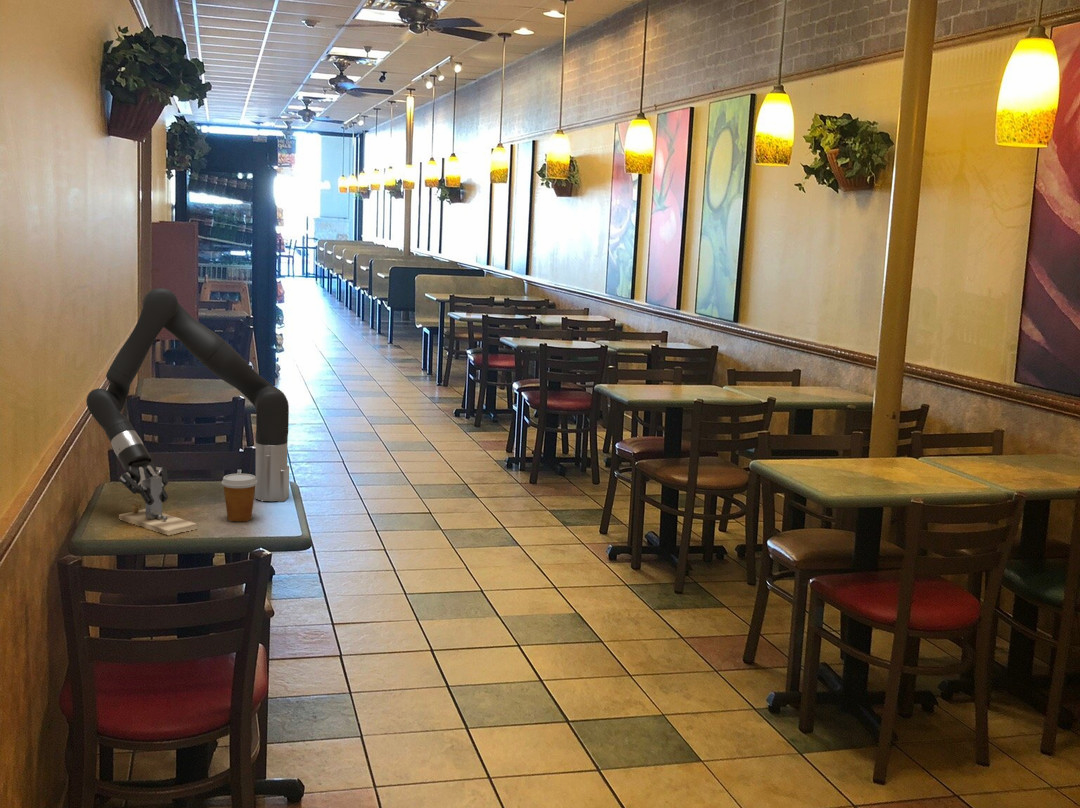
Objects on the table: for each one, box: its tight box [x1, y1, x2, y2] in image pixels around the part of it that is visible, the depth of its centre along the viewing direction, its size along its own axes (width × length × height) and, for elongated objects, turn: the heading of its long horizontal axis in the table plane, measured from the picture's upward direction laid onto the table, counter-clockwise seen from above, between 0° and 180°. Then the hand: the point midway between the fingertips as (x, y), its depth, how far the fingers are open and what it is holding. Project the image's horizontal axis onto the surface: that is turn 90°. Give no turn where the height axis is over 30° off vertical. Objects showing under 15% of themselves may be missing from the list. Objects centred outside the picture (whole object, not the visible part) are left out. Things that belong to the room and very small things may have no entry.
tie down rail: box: [118, 502, 199, 535], centre depth 287 cm, size 22×9×4 cm, turn 55°
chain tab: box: [144, 476, 167, 521], centre depth 286 cm, size 9×4×11 cm, turn 55°
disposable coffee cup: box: [221, 473, 257, 523], centre depth 295 cm, size 10×10×12 cm
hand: (158, 501), depth 286 cm, fingers closed on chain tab, 3 cm apart
